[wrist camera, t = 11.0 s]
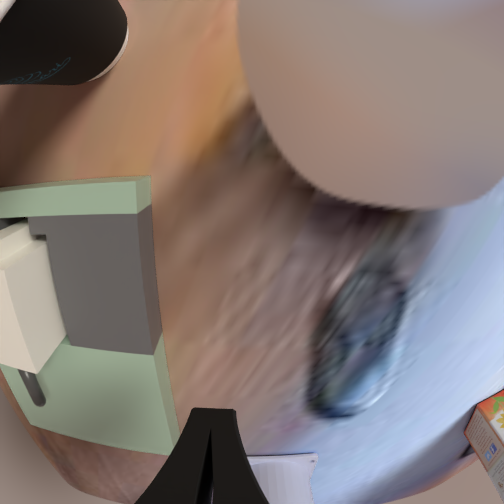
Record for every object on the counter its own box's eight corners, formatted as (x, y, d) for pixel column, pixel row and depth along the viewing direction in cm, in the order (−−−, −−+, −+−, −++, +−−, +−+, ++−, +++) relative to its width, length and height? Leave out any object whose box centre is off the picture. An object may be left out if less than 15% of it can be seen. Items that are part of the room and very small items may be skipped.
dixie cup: (118, -32, 11) (34, -129, 1) (183, 46, 13) (102, -74, 3) (21, 51, 12) (-105, 25, 2) (70, 137, 15) (-88, 155, 4)
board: (179, 433, 22) (175, 456, 20) (40, 406, 22) (30, 424, 19) (150, 175, 16) (135, 181, 13) (-24, 191, 15) (-46, 198, 13)
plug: (91, 364, 20) (60, 422, 14) (49, 357, 20) (14, 407, 14) (61, 216, 16) (-1, 249, 10) (15, 217, 16) (-46, 247, 10)
